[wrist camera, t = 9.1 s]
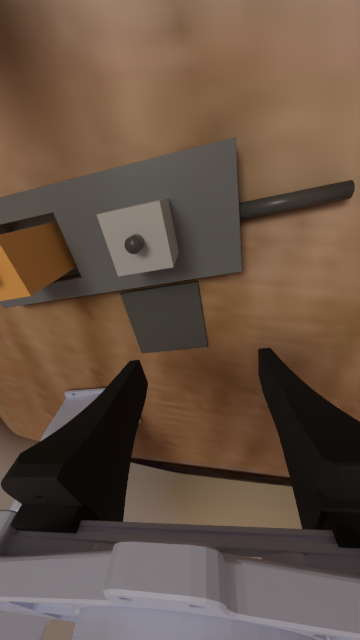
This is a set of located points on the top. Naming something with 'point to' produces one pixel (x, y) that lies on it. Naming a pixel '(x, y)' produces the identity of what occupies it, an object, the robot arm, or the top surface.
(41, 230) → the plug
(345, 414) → the robot arm
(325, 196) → the grey panel with knob
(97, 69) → the top surface
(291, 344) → the top surface
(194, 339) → the mat
